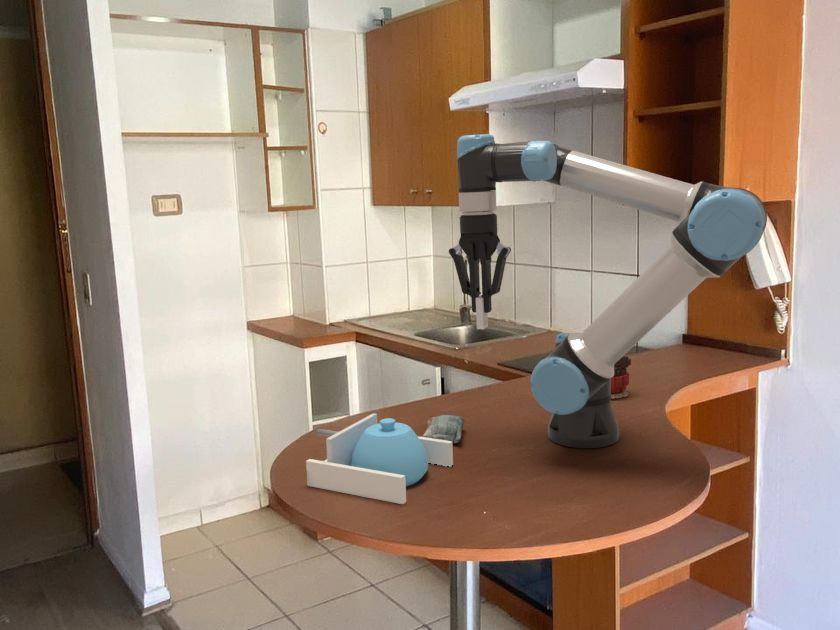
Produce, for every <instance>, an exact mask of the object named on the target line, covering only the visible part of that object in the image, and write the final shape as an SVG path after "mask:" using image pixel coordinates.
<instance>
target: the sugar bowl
mask: <svg viewBox="0 0 840 630" xmlns="http://www.w3.org/2000/svg"><path fill="white" fill-rule="evenodd" d="M417 436H418V435H417V433H416V432H415V431H414V429H413V428H412V427H411V426H409V425H407V424H405V423H402V422H397V421H396V419H395V418H391V417H388V418H382V419H381V420H379V423H378V424H375V425H372V426H369V427H368V428H367V429H366V430H365V431H364V432H363V434H362V436H361V437H360V439H359V441H358V443H357V445H356V447H355V449H354V452H353V455H352V461H351V466H354V467H359V468H365V469H371V470H377V471H382V472H388V473H394V474H400V475H405V481H406V487H409V486H412V485H414V484H416V483H418V482H420V480H421V479H422V478H423V476H425V474H426V473H427V471H428V469H429V464H428V459H427V455H426V451H425V449H424V446H423V444H422V443H421V441H420V440H419V438H418V437H417Z"/></svg>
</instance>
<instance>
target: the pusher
mask: <svg viewBox="0 0 840 630" xmlns="http://www.w3.org/2000/svg"><path fill="white" fill-rule="evenodd" d="M375 424H379V423H378V414H377V413H371V414H370V415H367V416H365V417H364V418H362V419H360V420H358V421H356V422H354V423H353V424H350V425H349V426H347V427H345V428H343V429H341V430H339V431H336V430H330V429H324V428H317V429H316V435H317V436H324V437H327V438H325V443H326V459H327V462H331V463H336V464H342V465H348V466H351V461H352V455H353V452H354V449H355V447H356V445H357V443H358V441H359V439H360V437H361V436H362V434H363V432H364V431H365V430H366V429H367V428H368V427H369V426H372V425H375Z"/></svg>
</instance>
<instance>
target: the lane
mask: <svg viewBox="0 0 840 630" xmlns="http://www.w3.org/2000/svg"><path fill="white" fill-rule="evenodd" d="M417 437H418V438H419V440H420V441H421V443H422V444H423V446H424V449H425V451H426V455H427V459H428V463H431V464H430V465H434V464H437V465H436V466H441V465H442V467H447V466H449V467H448V468H451V467H452V465H453V466H454V455H453V454H454V451H453V446H454V445H453V443H452V441H447V440H440V439H433V438H426V437H421V436H418V435H417ZM305 468H306V469H305V470H306V481H307V482H306V483H307V487H312V488H318V489H322V490H327V491H332V492H337V493H343V494H349V495H354V496H358V497H363V498H368V499H374V500H379V501H384V502H388V503H395V504H399V505H405V504H406V502H407V486H406V481H405V475H400V474H394V473H388V472H382V471H377V470H371V469H365V468H359V467H354V466H348V465H342V464H336V463H331V462H327V458H326V459H325V460H319V459H312V458H309V459H307V460H305Z"/></svg>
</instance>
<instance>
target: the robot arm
mask: <svg viewBox="0 0 840 630" xmlns="http://www.w3.org/2000/svg"><path fill="white" fill-rule="evenodd" d="M456 149H457V150H456V163H457V178H458V179H457V181H458V209H459V211H458V212H459V213H461V214H462V215H460V217H459V231H460V232H459V233H460V236H459V240H458V243H457V244H456V245H455V246H454V247H451V248H449V249H448V253H449V255H450V257H451V258H452V260H453V262H454V266H455V270H456V273H457V277H458V278H457V279H458V280H459V285H460V288H461V293H462V294H463V295H467V296H469V297H470V299H471V311H472V313H476V315H475V316H476V321H475V322H476V330H485V329H486V328H489V318H488V314H489V313H491V312H492V309H493V307H492V296H495V295H497V294H499V293H500V291H501V287H502V283H503V282H502V281H503V278H504V272H505V267H506V264H507V263H506V262H507V258H508V257H509V255H510V253H511V252H512V248H511V247H510V246H505V245H504V244H503V243H501V241H500V240H501V239H500V238H499V235H498V216H497V214H496V213H495V212H496V210H497V188H496V187H497V183H504V182H505V183H511V182H513V183H515V182H541V181H543V182H547V183H549V184H553V185H557V186H561V187H565V188H567V189H571V190H573V191H577V192H581V193H584V194H587V195H590V196H593V197H596V198H600V199H603V200H606V201H609V202H613V203H617V204H620V205H622V206H626V207H628V208H631V209H636V210H639V211H642V212H645V213H648V214H652V215H655V216H658V217H662V218H665V219H667V220H671V221H674V222H676V223H677V222H678V223H679V224H678V225H677V226H676V227H675V228H674V229H673V230H672V231H671V232H670V245H669V246H668V247H667V248H666V249H665V250H664V251H663V252H662V253H661V254H660V255H659V256H658V257H657V258H656V259H655V260H654V261H653V262H652V263H651V264H650V265H649V266H648V267H646V269H645V270H644V271H643V272H642V273H640V275H639V276H638V277H637V278H635V279H634V281H633V282H631V284H630V285H629V286H627V288H626V289H625V290H623V291H622V293H621V294H620V295H619V296H618V297H617V298H616V299H615V300H614V301H613V302H611V304H609V306H608V307H607V308H605V309H604V310H603V311H602V313H600V314H599V315H598V316H597V317H596V319H594V320H593V321H592V323H590V324H589V325H588V326H587V327H586V328H585V329H584V330H583V331H582V332H561V333H558V334H557V335H556V336H555V341H554V346H555V348H554V349H553V350H552V351H551V352H550V353H549V354H548V355H547V356H546V357H545V358H543V359H541V360H539V361H538V362H537V364H536V365H535V367H534V368H533V370H532V373H531V376H530V381H529V382H530V390H531V393H532V395H533V398H534V399H535V401H536V402H537V403H538V405H540V407H542V408H543V409H544V410H546V411H547V412H549V413H551V416H550V420H549V422H548V426H547V438H548V440H550V441H551V442H552V443H555V444H557V445H561V446H564V447H568V448H569V447H570V448H575V449H601V448H606V447H609V446H612V445H614V444H616V443H617V442H618V441H619V439H620V428H619V424H618V421H617V418H616V415H615V412H614V409H613V406H612V402H611V401H612V400H611V399H612V398H611V378H612V377H613V376H614V364H615V363H616V362H617V361H618V360H620V359H621V358H622V357H623V356H626V354H627V353H628V352H629V351H630V350H631V349H632V348H634V346H635V345H636V344H638V342H640V341H641V340H642V339H643V338H644V337H645V336H646V335H647V334H648V333H650V331H651V330H653V329H654V328H655V327H656V326H657V325H658V324H659V323H660V322H661V321H662V320H663V319H664V318H665V317H666V316H667V315H668V314H670V313H671V312H672V311H673V310H674V309H675V308H676V307H677V306H678V305H679V304H680V303H681V302H682V301H683V300H685V299H686V298H687V297H688V296H689V295H690V294H691V293H692V292H693V291H694V290H695V289H696V288H697V287H698V286H699V285H700V284H702V282H703V281H705V280H706V279H709V278H720V277H721V276H722V275H724V274H725V273H726V272H727V271H728V270H730V268H731V267H732V266H733V265H735V264H736V263H737V262H738V261H739V260H740V259H741V258H742V257H744V256H745V255H747V254H749V253H750V252H752V250H753V249H754V248H755V247H756V246H758V244H759V242H760V241H761V238H762V236H763V234H764V231H765V230H766V227H767V224H768V223H767V222H768V214H767V213H768V212H767V209H766V206H765V204H764V203H763V201H762V200H761V199H760V197H759V196H758V195H756V194H755V193H753V192H752V191H750V190H748V189H745V188H743V187H742V188H741V187H731V186H724V185H717V184H713V183H709V182H704V181H699V182H697V183H695V184H693V183H689V182H684V181H682V180H678V179H674V178H671V177H667V176H663V175H661V174H657V173H654V172H650V171H646V170H643V169H639V168H636V167H633V166H630V165H629V166H628V165H625V164H622V163H619V162H615V161H611V160H608V159H604V158H600V157H598V156H594V155H590V154H587V153H584V152H579V151H576V150H571V149H569V148H566V147H562V146H560V145H559V144H556V143H553V142H551V141H549V140H531V141H530V140H529V141H528V140H527V141H518V142H507V143H496V141H495V137H494V135H493V134H490V133H487V134H486V133H485V134H484V133H483V134H468V135H461V136H459V138H458V139H457V144H456ZM495 252H496V255H497V257H496V262H495V267H494V272H493V278H492V256H493V255H494V254H495ZM463 253H465V255H466V256H467V262H468V265H469V266H468V268H469V274H468V270H467V267H466V263H465V259H464V256H463ZM480 266H481V269H480ZM480 270H481V272H480ZM480 273H481V274H480ZM480 275H481V285H480ZM481 291H482V292H481Z"/></svg>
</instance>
